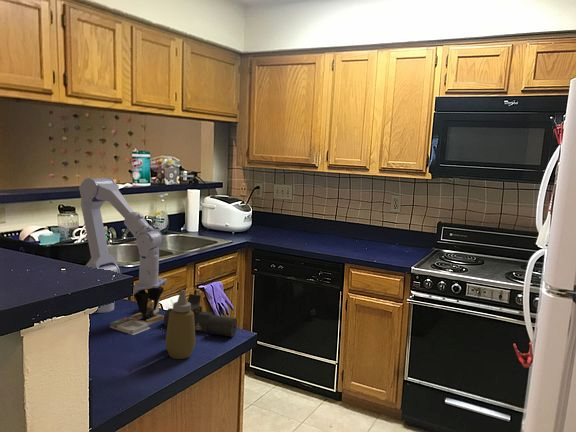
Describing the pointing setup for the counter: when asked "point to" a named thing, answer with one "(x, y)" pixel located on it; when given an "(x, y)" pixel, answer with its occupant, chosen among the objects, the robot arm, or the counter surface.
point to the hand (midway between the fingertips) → (147, 311)
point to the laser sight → (208, 319)
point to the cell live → (149, 309)
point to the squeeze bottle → (180, 329)
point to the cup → (157, 307)
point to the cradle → (129, 326)
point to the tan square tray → (148, 321)
